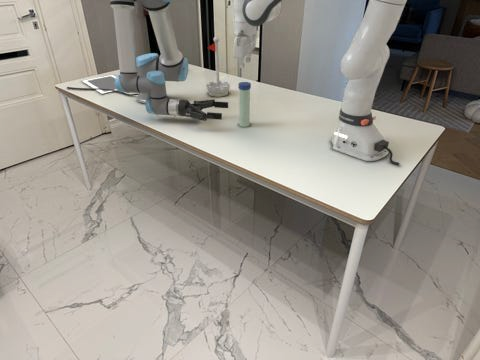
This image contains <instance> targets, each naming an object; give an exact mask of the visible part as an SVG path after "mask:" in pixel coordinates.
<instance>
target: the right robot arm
mask: <svg viewBox="0 0 480 360" xmlns="http://www.w3.org/2000/svg"><path fill="white" fill-rule="evenodd" d="M283 1H284V0H233V11H234V18H233V34H234V35H237V36H235V37H234V39H233V50H232V51H233V52H232V53H233V54H232V55H233V58H234V59H237V62H238V68H239V69H244V68H245V63H250V62H251V57H252V54H253V53H252V51H254V50H255V49H256V45H257V37H258V36H257V34H258V33H257V32H258V31H259V27H260V26H262V25H264V24H265V23H268V22H271V21H273V20H275V19H277V18H278V17H279V16H280V14H281V12H282V9H283V5H282V2H283ZM407 1H408V0H368V3H367V6H366V9H365V12H364V15H363V18H362V20H361V23H360V25H359V27H358V29H357V31H356V33H355V35H354V37H353V39H352V41H351V43H350V45H349V47H348V49H347V51H346V52H345V54H344V55H343V56H342V58H341V61H340V71H341V73H342V75H343V76H344V77H345V78H347V79H349V80H348V81H347V84H346V86H345V88H344V91H343V98H342V103H341V108H340V109H339V113H338V122H337V123H338V124H337V127H336V130H335V131H334V132H333V133H334V135H333V137H332V139H331V144H332V149H333V150H334V151H336V152H340V153H343V154H344V155H345V154H346V155H348V156H351V157H354V158H356V159H359V160H361V161H365V162H374V161H379V160H381V159H383V158H385V157H387V155H388V154H389V162H390V164H393V165H397V166H399V165H400V162H397V161H394V160H393V155H394V154H393V152H392V150H391V149H390V148H389V145H390V141H388V140H385V138H384V135H383V134H382V133H381V131H379V128H377V126H376V125H375V124H374V121H375V120H376V119H377V116H373V113H372V109H373V104H374V100H375V95H376V93H377V89H378V87H379V84H380V81H381V78H382V76H383V73H384V70H385V68H386V65H387V63H388V61H389V59H390V55H391V54H390V48H389V46H388V44H387V43H388V42H389V40H390V38H391V36H392V35H393V34H394V33H395V31H396V29H397V26H398V24H399V21H400V20H401V19H400V18H401V16H402V13H403V11H404V8H405V6H406V3H407ZM244 59H245V62H244Z"/></svg>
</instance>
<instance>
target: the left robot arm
mask: <svg viewBox="0 0 480 360" xmlns="http://www.w3.org/2000/svg"><path fill="white" fill-rule="evenodd" d="M171 1H172V0H109V4H110V7H111V8H112V10H113V19H114V28H115V38H116V48H117V57H118V66H119V74H118V75H115V76H116V78H115V86H116V89H117V90H118V91H116V90H111V89H98V88H91V87H73V86H72V87H71V86H67V87H66V89H70V90H80V91H83V90H84V91H96V90H110V91H114V92H113V93H119V94H121V95H126V96H128V97H129V96H130V97H133V96H137V101H138V102H139V103H140V104H144V105H145V110H146V112H147V113H148V114H150V115H156V116H172V117H185V118H192V119H196V120H198V121H202V122H206V121H208V120H218V121H220V120H221V121H222V120H223V113H222V112H211V111H210V112H209V111H207V112H205V111H203V110H204V109H210V108H215V109H217V108H218V109H229V101H216V99H214V98H212V99H203V100H194V101H193V103H191V102H190V100H189V99H180V98H168V96H167V86H166V82H175V83H179V82H185V81H186V80H187V79H188V75H189V59H188V58H187V57H185V56H184V55H183V53H182V52H181V51H180V50H179V48H178V44H177V39H176V35H175V31H174V27H173V24H172V23H173V22H172V17H171V14H170V9H169V6H170V5H171ZM135 2H141V5H142V8H143V9H144V10H145V11H147V12H148V15H149V18H150V22H151V25H152V29H153V32H154V36H155V38H156V42H157V46H158V49H159V51H160V55H159V54H158V53H157V52H156V53H155V52H151V53H150V52H149V53H145V54H141V55H139V56H137V51H136V39H135V38H136V37H135V27H134V14H133V11H134V9H135V8H136V7H135Z"/></svg>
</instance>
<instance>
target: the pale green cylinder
mask: <svg viewBox="0 0 480 360" xmlns="http://www.w3.org/2000/svg"><path fill="white" fill-rule="evenodd" d="M238 91H239V92H238V93H239V94H238V95H239V96H238V97H239V98H238V103H239V106H238V107H239V108H238V109H239V113H238V115H239V119H238V120H239V121H238V122H239V123H238V124H239V125H238V126H239V127H242V128H247V127H249V126H250V121H251V119H250V115H251V114H250V113H251V111H250V110H251V109H250V108H251V105H250V104H251V89H248V90H241V89H239V88H238Z"/></svg>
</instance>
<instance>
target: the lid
mask: <svg viewBox="0 0 480 360" xmlns="http://www.w3.org/2000/svg"><path fill="white" fill-rule="evenodd" d="M237 85H238V87H237V88H238V90H239V89H241V90H248V89H250V90H251V89H252V83H251V82H248V81H241V82H238V84H237Z"/></svg>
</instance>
